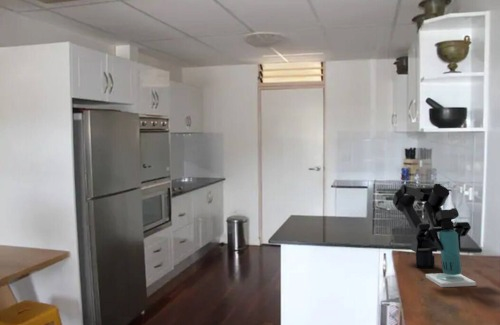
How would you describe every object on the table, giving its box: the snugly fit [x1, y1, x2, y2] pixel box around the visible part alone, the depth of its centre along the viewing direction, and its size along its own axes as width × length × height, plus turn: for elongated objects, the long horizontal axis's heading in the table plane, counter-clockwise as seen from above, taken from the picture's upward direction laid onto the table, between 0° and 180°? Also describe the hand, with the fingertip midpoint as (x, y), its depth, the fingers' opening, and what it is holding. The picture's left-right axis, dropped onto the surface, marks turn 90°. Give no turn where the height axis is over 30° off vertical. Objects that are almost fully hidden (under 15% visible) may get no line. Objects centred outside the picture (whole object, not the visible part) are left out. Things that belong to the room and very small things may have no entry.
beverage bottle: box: [438, 220, 463, 275], centre depth 151 cm, size 6×7×20 cm
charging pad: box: [425, 272, 477, 288], centre depth 151 cm, size 12×12×1 cm
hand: (450, 249), depth 150 cm, fingers closed on beverage bottle, 6 cm apart
